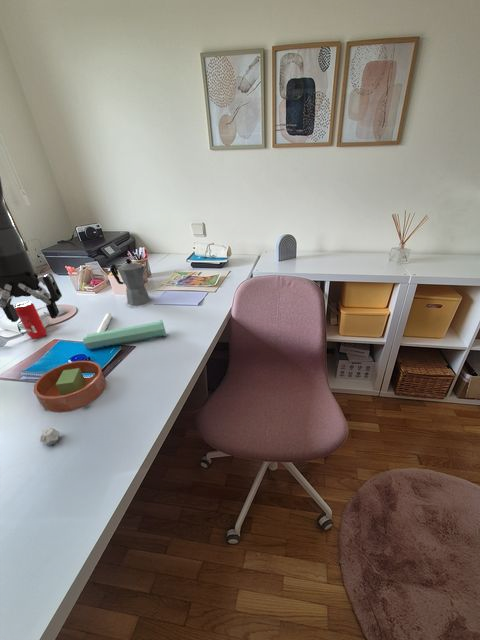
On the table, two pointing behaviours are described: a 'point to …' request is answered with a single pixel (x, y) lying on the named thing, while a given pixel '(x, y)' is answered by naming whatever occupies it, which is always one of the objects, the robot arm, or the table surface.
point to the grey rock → (49, 436)
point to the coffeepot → (132, 281)
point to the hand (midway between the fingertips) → (35, 318)
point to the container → (124, 335)
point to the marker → (105, 322)
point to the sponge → (70, 381)
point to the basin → (57, 403)
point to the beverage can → (30, 319)
